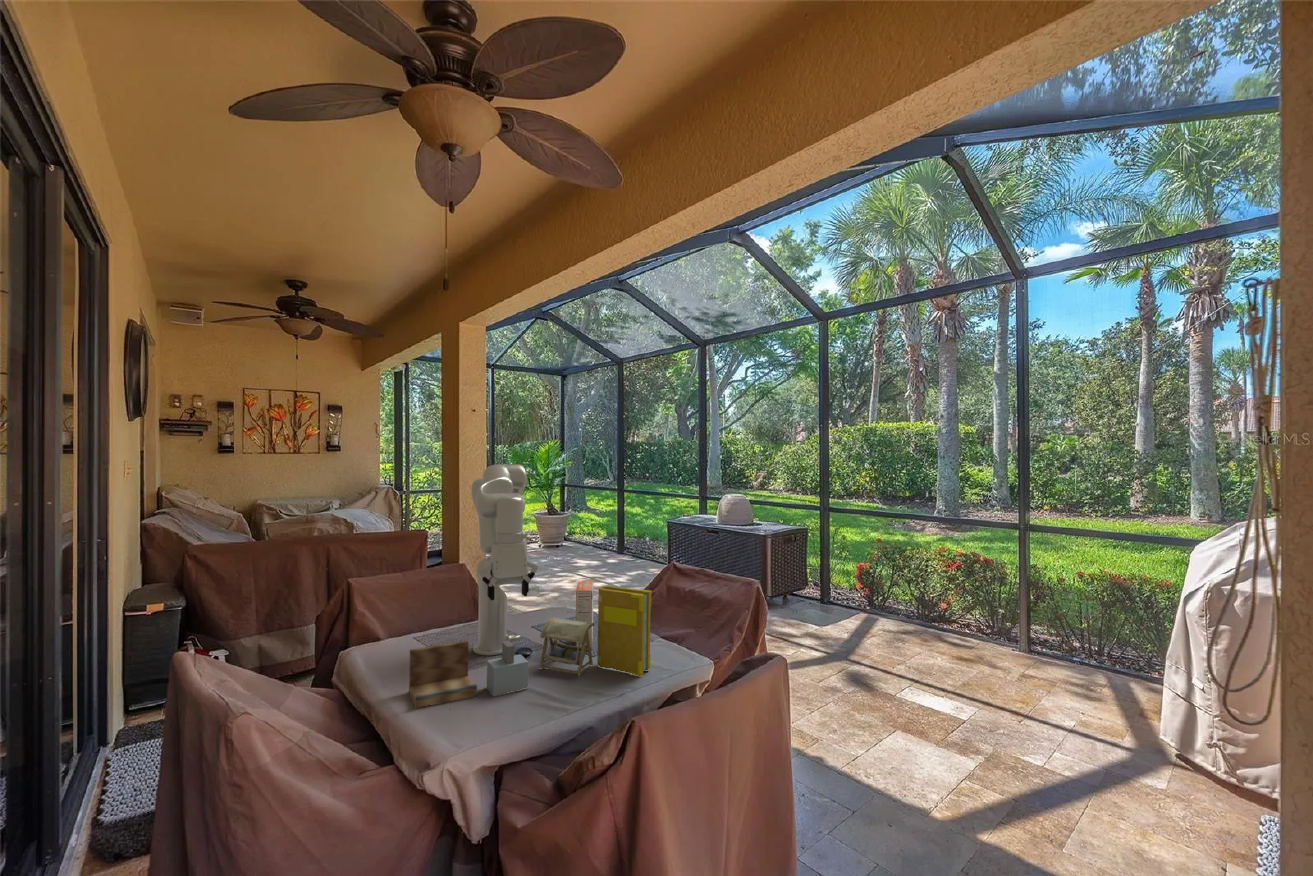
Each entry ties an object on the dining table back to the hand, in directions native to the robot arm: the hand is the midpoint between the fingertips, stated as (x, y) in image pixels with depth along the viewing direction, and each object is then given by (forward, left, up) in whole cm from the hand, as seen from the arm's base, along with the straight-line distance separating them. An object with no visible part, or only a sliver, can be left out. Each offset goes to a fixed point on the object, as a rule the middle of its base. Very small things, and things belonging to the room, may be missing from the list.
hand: (508, 597), depth 170 cm
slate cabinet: (0, 0, -27) cm, 27 cm away
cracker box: (-35, -24, -27) cm, 50 cm away
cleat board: (+17, -4, -26) cm, 32 cm away
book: (-36, +3, -27) cm, 45 cm away
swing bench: (-21, -6, -27) cm, 34 cm away
